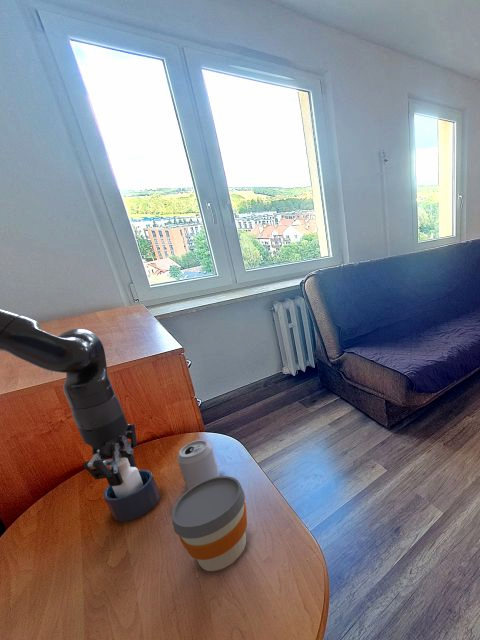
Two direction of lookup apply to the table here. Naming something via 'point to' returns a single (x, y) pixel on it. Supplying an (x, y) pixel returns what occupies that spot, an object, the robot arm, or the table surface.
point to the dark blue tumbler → (133, 499)
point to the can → (197, 462)
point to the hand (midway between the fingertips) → (123, 475)
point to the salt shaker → (127, 479)
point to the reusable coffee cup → (212, 522)
